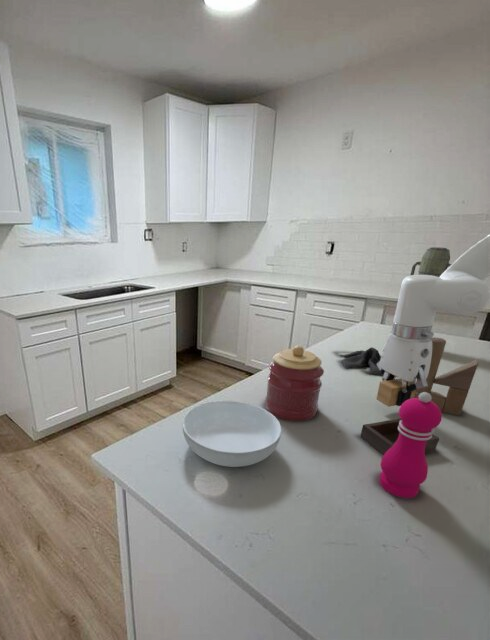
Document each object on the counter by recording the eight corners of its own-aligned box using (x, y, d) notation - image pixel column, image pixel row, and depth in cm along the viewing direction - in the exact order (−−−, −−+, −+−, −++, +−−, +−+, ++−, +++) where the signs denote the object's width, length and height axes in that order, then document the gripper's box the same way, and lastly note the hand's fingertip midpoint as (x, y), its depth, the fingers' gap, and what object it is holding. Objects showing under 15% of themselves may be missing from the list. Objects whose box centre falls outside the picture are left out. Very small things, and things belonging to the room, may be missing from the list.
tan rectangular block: (399, 395, 93) (403, 377, 91) (412, 402, 89) (417, 384, 87) (376, 399, 92) (379, 381, 90) (388, 406, 88) (392, 388, 86)
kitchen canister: (260, 415, 92) (266, 351, 85) (269, 393, 103) (275, 335, 95) (314, 427, 87) (326, 359, 80) (318, 402, 97) (329, 341, 90)
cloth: (411, 363, 120) (416, 346, 117) (397, 382, 107) (402, 363, 105) (341, 348, 134) (344, 332, 131) (322, 363, 121) (324, 346, 119)
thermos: (429, 356, 125) (460, 250, 111) (390, 349, 132) (415, 248, 118) (432, 348, 131) (462, 247, 117) (395, 342, 138) (419, 246, 124)
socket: (402, 430, 85) (406, 417, 83) (434, 452, 77) (439, 438, 75) (359, 438, 82) (362, 424, 81) (388, 461, 75) (392, 446, 73)
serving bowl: (295, 447, 80) (299, 420, 77) (242, 498, 66) (245, 467, 63) (219, 414, 93) (220, 390, 90) (162, 450, 80) (161, 424, 77)
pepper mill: (428, 503, 64) (463, 404, 56) (383, 498, 65) (412, 401, 57) (410, 475, 70) (439, 384, 62) (370, 472, 72) (393, 381, 64)
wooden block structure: (459, 416, 89) (483, 348, 82) (408, 404, 96) (427, 340, 88) (460, 410, 92) (483, 344, 85) (410, 398, 98) (428, 335, 91)
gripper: (458, 339, 76) (436, 414, 84) (395, 319, 91) (381, 384, 99) (429, 343, 75) (409, 419, 82) (370, 322, 90) (357, 388, 97)
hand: (394, 399), depth 90 cm, fingers closed on tan rectangular block, 4 cm apart
